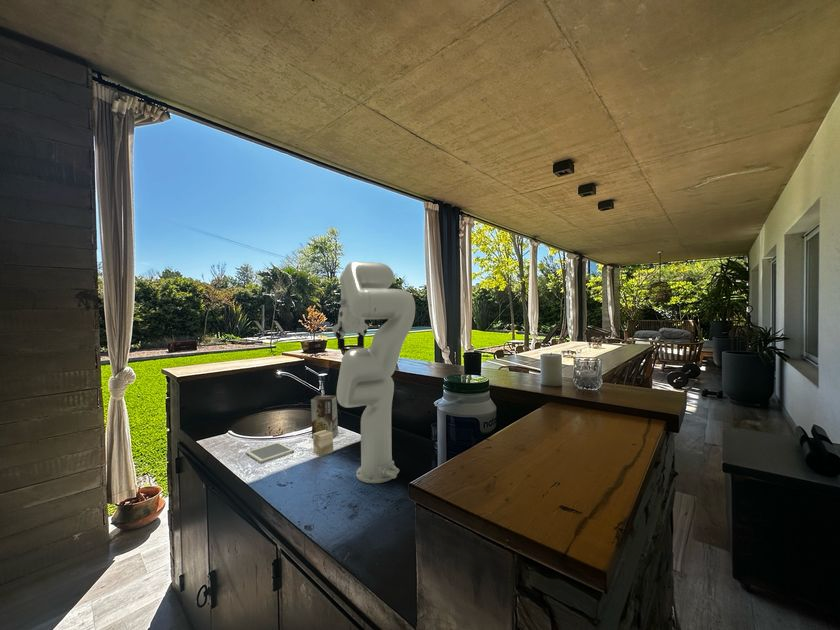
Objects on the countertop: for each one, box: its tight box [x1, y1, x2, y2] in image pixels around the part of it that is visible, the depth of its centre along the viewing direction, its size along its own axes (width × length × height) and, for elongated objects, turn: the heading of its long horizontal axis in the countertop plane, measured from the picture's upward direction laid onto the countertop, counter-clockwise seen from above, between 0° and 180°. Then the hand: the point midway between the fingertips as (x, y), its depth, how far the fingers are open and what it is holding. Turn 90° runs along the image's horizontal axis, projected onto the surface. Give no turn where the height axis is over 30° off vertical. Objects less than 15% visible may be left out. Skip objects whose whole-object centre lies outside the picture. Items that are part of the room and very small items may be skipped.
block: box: [312, 430, 334, 457], centre depth 125 cm, size 5×5×7 cm
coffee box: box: [310, 394, 339, 439], centre depth 141 cm, size 9×6×16 cm
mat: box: [245, 441, 295, 464], centre depth 124 cm, size 12×12×1 cm
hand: (351, 347), depth 133 cm, fingers open, 9 cm apart
